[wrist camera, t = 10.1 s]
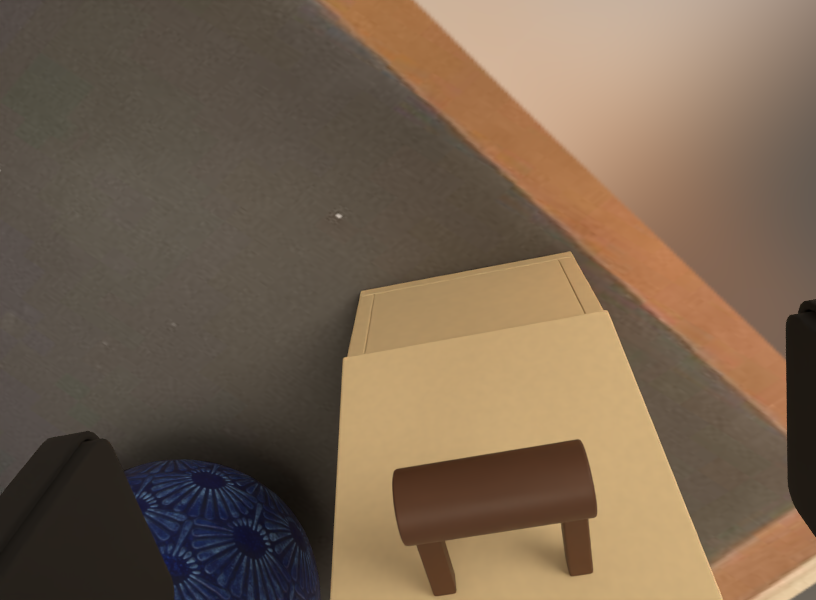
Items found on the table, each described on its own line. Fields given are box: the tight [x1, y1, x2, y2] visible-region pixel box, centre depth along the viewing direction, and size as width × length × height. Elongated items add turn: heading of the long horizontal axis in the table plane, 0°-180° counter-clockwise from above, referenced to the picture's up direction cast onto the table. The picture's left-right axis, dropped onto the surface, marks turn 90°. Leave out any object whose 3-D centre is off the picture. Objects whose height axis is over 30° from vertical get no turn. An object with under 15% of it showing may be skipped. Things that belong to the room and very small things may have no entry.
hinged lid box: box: [347, 252, 604, 357], centre depth 37 cm, size 13×11×8 cm
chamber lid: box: [330, 310, 723, 600], centre depth 24 cm, size 14×11×6 cm
